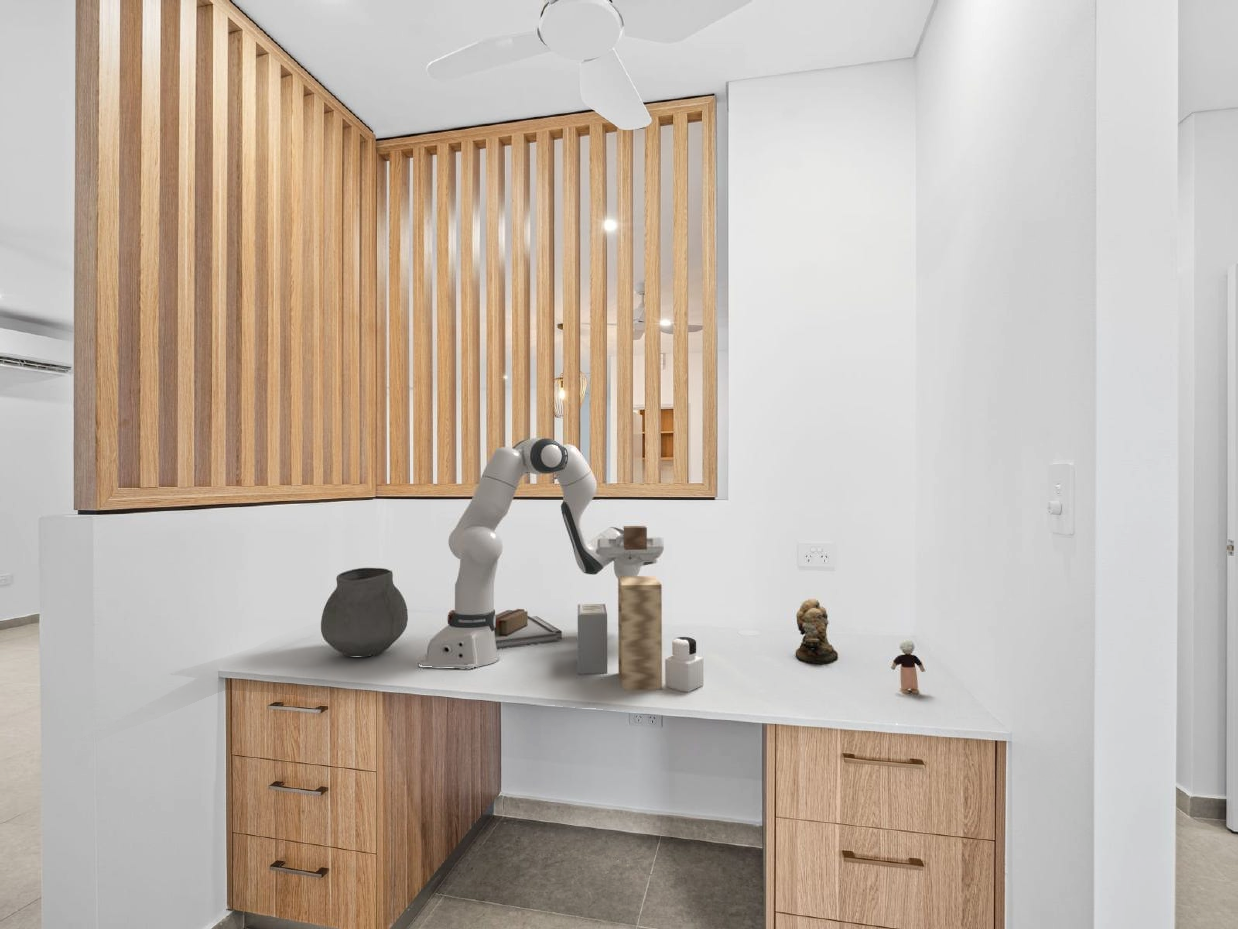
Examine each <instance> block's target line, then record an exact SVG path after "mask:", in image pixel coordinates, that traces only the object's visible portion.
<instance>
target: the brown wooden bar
mask: <svg viewBox="0 0 1238 929" xmlns="http://www.w3.org/2000/svg"><path fill="white" fill-rule="evenodd" d="M622 528H623V531H624V549H625V550H647V537H648V534H647V533H648V528H647V526H646V525H623V527H622Z"/></svg>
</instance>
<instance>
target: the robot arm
mask: <svg viewBox="0 0 1238 929" xmlns="http://www.w3.org/2000/svg"><path fill="white" fill-rule="evenodd" d="M525 474H532V475H543V474H545V475H547V474H553V475H554V476H555V477H556V480H557V482H558V483H559V485H560V487H561V490H562V502H561V505H560V510H561V514H562V515H561V516H562V518H563V521H564V525H565V527H566V528H565V529H566V531H567V533H568V537H569V540H570V542H571V546H572V549H573V550H572V551H573V554H574V558H575V562H576V564H577V567H578V568H579V570H580V571H581V572H582V573H583V574H587V575H597V574H598V573H599V572H601V571H602V570H603V569H604V568H605V567H606V566H608V565H610V564H611V563H612V562H613V570H614V575H615V577H616V578H617V579H618V577H620V576H639V573H640V570H641V567H645V566H648V565H654V564H656V563H658V559H659V558H660V557H661V556H662V554H663V552H664V548H665V545H664V544H665V543H664V538H663V537H660V536H653V537H652V536H651V537H648V536H647V550H625V549H624V529H621V528H618V527H614V526H610V527H609V528H607V529H605V530H604V531H601V533H600V534H598V535H597V536H596V537H594V538H592V539H591V540H590V541H588V542H587V541H586V538H585V534H584V531H583V529H582V528H583V527H582V526H581V519H582V515H583V513H584V511H585V510H586V508H587V507H588V505H589V504H590V503H591V502H592V500H593V499H594V497H595V494H596V492H597V489H598V488H597V487H598V486H597V485H598V483H597V480H596V477H595V475H594V472H593V471H592V469H591V467H590V465H589V463H588V462H587V460H586V459H585V457H584V456H583V454H582V453H581V451H580V450H579V449H578V448H577V447H576V446H575V445H573V444H569V443H568V444H567V443H565V444H560V443H559V442H558V441H556V440H554V439H550V438H541V437H540V438H538V437H533V438H529V439H524V440H521V441H520V442H518V443H516V445H514V446H513V447H509V446H508V447H507V446H503V447H501V446H500V447H499V448H497V449H496V450H495V451H494V452H493V453H492V455H491V457H490V459H489V460H488V462H487V464H486V466H485V468H484V470H483V472H482V475H481V476H480V479H479V481H478V483H477V485H476V486H477V487H476V488H475V491H474V493H473V496H472V498H471V500H470V502H469V504H468V506H467V507H466V510H465V511H464V512H463V514H462V515H461V517H460V519H459V521H458V523H457V524H456V526H455V528H454V529H453V530H452V531H451V533H450V535H449V536H448V543H447V544H448V547H449V549H450V552H451V553H452V554H453V556H454V557H456V558H457V560H459V570H458V573H457V579H456V581H455V584H454V609H451V610H450V611H449V612H448V614H447V624H448V625H446V626H445V627H444V628H442V629H441V630H439V632H438V633H436V634H435V635H434V636H432V638H431V639H430V641H428V642H429V643H428V644H427V649H426V653H425V654H423V655H422V656H421V657H419V659H418V664H420V665H422V666H432V667H454V668H467V669H466V670H472V669H471V668H473V669H475V668H474V667H476V668H479V667H482V666H488V665H491V664H493V663H496V662H498V661H499V660H500V655H499V652H498V649H497V647H496V641H495V632H494V630H495V626H496V615H497V614H496V610H495V609H494V608H495V606H494V605H495V603H494V602H495V599H494V598H495V597H494V596H495V595H494V594H495V592H494V591H495V590H494V589H495V579H496V572H497V568H498V563H499V559H500V557H501V555H502V552H503V549H504V548H503V542H502V539H501V538H500V536H499V535H498V534H497V533H496V529H497V527H498V526H499V524H500V523H501V522H502V520H503V519H504V517H506V516H507V514H508V513H509V510H510V507H511V505H512V502H513V500H514V497H515V494H516V492H517V489H518V486H519V485H520V480H522V477H523V476H524V475H525Z"/></svg>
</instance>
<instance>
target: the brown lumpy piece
mask: <svg viewBox="0 0 1238 929" xmlns="http://www.w3.org/2000/svg"><path fill="white" fill-rule="evenodd" d="M800 605H801V606H800V608H799V609H798V610H797V612H796V616H795V617H796V625H797V629H798V631H799V633H800V635H802V636H803V637H802V641H801V642H800V645H799V648H797V649H796V651H795V658H796V657H797V658H796V659H797V660H799V662H802V661H803V662H805V663H806V664H809V663H814V664H815V663H816V664H820V665H828V664H832V663H834V662H835V661H837V660H838V657H839V653H838V652H837V651H836V650H835V648H834V647H833V645H832V644H830V643H829V640H828V637H827V634H828V633H827V630H828V625H829V618H828V617H829V616H828V613H827V610H826V607H823V605H822V606H821V605H820V602H819V601H818V600H817V599H816V598H811V599H807V600H805V601H803V602H802V603H801V604H800ZM831 662H832V663H831Z"/></svg>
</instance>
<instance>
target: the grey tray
mask: <svg viewBox="0 0 1238 929" xmlns="http://www.w3.org/2000/svg"><path fill="white" fill-rule="evenodd" d="M528 613H529V612H528V611H527V610H525V608H524V609H523V608H517V609H515V610H514V609H507V610H505V611H502V612H500V613H498V614H495V615H496V626H495V630H494V632H495V641H496V647H497V650H501V649H500V648H502V649H508V648H507V647H510V648H517V647H524V646H525V645H526V646H532V645H531V644H534V645H539V644H538V643H541V644H549V643H556V641H557V642H558V640H561V639H563V638H562V637H563V635H562V634H563V632H562V631H563V630H561V629H560V628H557V627H555V626H554V625H552V624H551V623H549V622H547V621H545V619H543V618H540V617H539V616H537V615H536V616H534V615H533V616H530V615H528ZM526 646H525V647H526Z"/></svg>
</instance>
